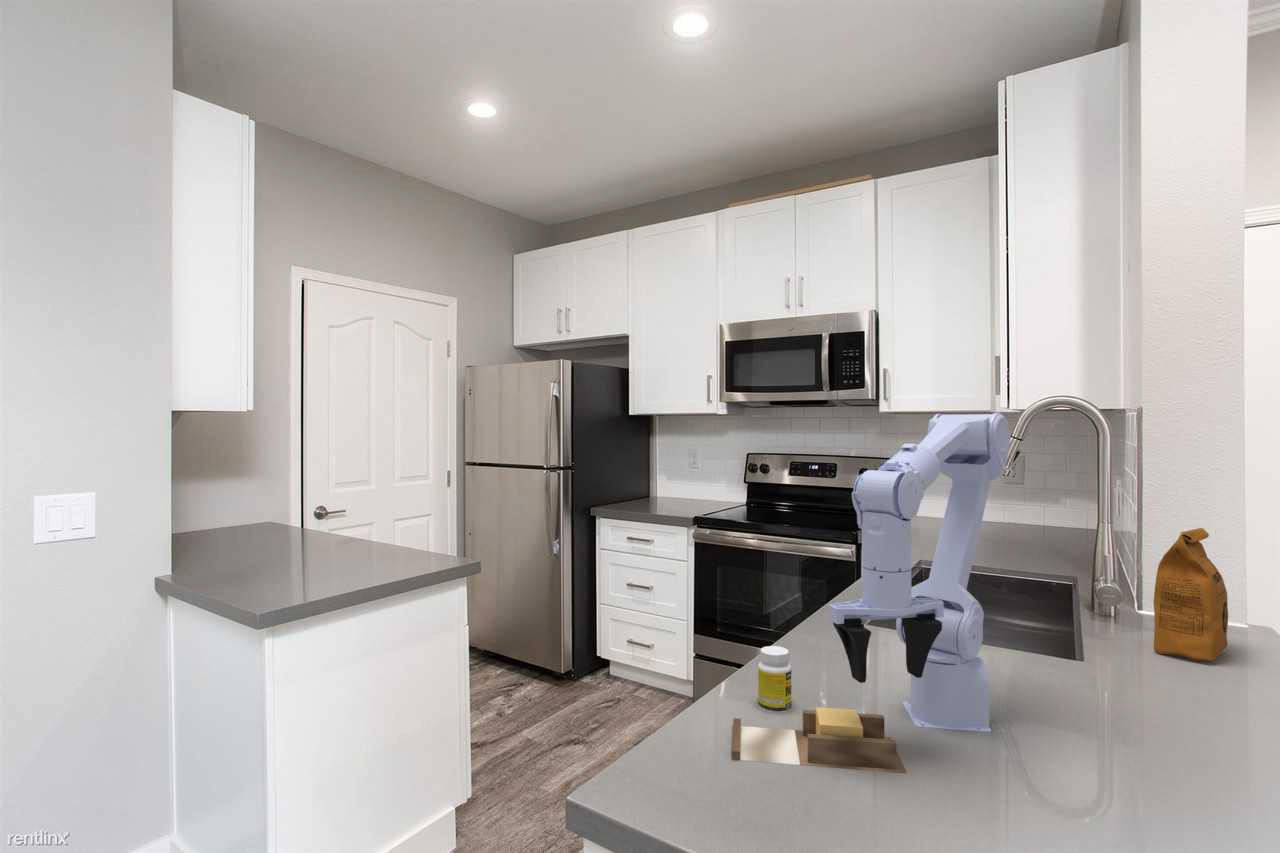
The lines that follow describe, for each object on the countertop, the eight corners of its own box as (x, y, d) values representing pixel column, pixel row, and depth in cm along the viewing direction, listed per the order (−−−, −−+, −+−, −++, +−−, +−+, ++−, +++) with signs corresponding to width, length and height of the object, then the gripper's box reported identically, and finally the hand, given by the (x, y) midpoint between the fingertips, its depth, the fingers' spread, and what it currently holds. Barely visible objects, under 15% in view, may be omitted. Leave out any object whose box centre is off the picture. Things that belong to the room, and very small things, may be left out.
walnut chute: (890, 740, 84) (889, 713, 84) (906, 777, 76) (906, 747, 76) (733, 729, 88) (733, 703, 88) (731, 763, 79) (731, 734, 79)
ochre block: (856, 741, 83) (856, 709, 83) (863, 761, 78) (863, 727, 78) (815, 738, 84) (815, 707, 84) (820, 757, 79) (819, 724, 79)
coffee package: (1239, 654, 116) (1239, 530, 116) (1215, 669, 109) (1214, 537, 109) (1170, 639, 124) (1170, 523, 124) (1143, 652, 117) (1143, 529, 117)
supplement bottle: (792, 717, 91) (791, 657, 91) (757, 714, 92) (757, 654, 92) (791, 703, 96) (790, 645, 96) (758, 700, 97) (758, 643, 97)
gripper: (919, 558, 86) (919, 661, 86) (817, 563, 84) (817, 669, 84) (954, 570, 80) (955, 681, 80) (845, 575, 77) (845, 691, 77)
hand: (886, 677), depth 81 cm, fingers open, 7 cm apart
